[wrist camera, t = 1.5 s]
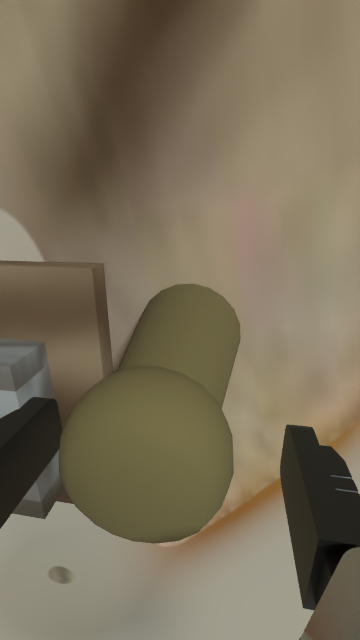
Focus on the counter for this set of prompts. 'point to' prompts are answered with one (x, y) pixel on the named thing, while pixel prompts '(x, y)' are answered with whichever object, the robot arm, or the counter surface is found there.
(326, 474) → the robot arm
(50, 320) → the holder board
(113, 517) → the olive knobbed cylinder
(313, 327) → the counter surface
